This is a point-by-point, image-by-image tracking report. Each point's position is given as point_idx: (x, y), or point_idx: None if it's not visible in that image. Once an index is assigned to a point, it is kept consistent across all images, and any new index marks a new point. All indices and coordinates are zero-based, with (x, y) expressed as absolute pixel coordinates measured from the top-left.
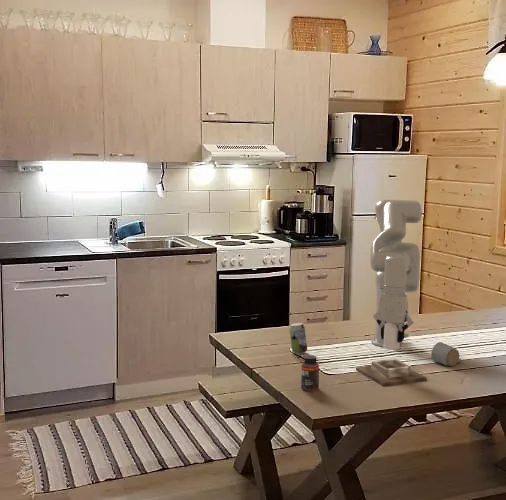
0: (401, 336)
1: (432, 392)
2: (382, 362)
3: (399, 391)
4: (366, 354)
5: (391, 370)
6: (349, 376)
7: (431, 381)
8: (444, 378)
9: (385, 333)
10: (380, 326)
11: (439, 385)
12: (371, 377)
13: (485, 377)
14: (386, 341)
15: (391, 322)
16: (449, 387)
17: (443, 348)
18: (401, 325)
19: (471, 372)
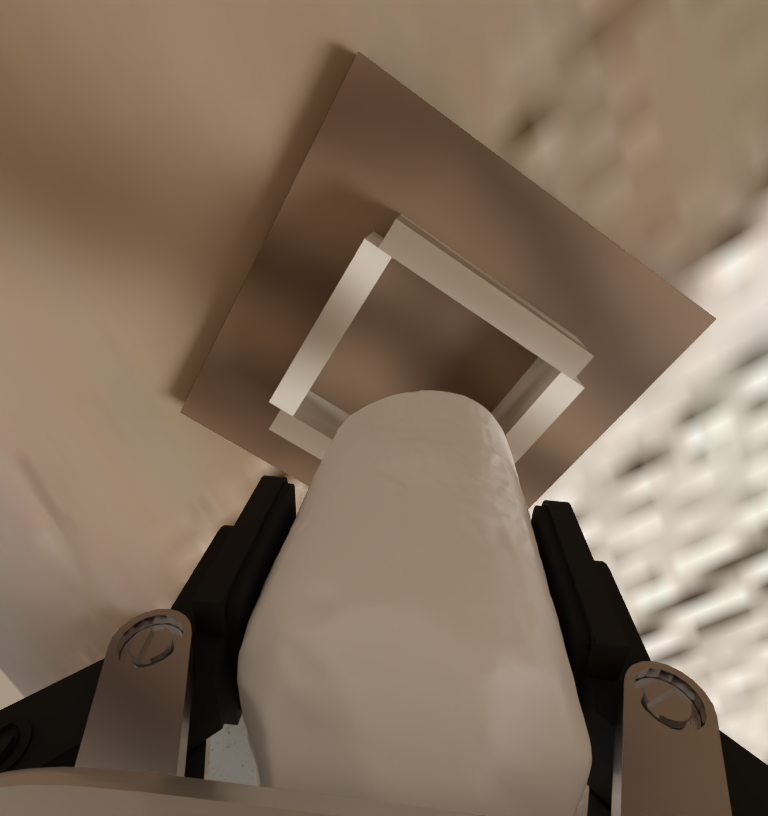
0: (214, 556)
1: (15, 185)
2: (510, 422)
3: (188, 17)
4: (708, 638)
5: (354, 256)
6: (721, 109)
7: (152, 397)
8: (132, 487)
9: (493, 528)
10: (683, 701)
11: (76, 355)
12: (514, 169)
13: (10, 600)
14: (451, 436)
15: (313, 804)
16: (15, 356)
17: (217, 759)
18: (80, 758)
19: (97, 631)
